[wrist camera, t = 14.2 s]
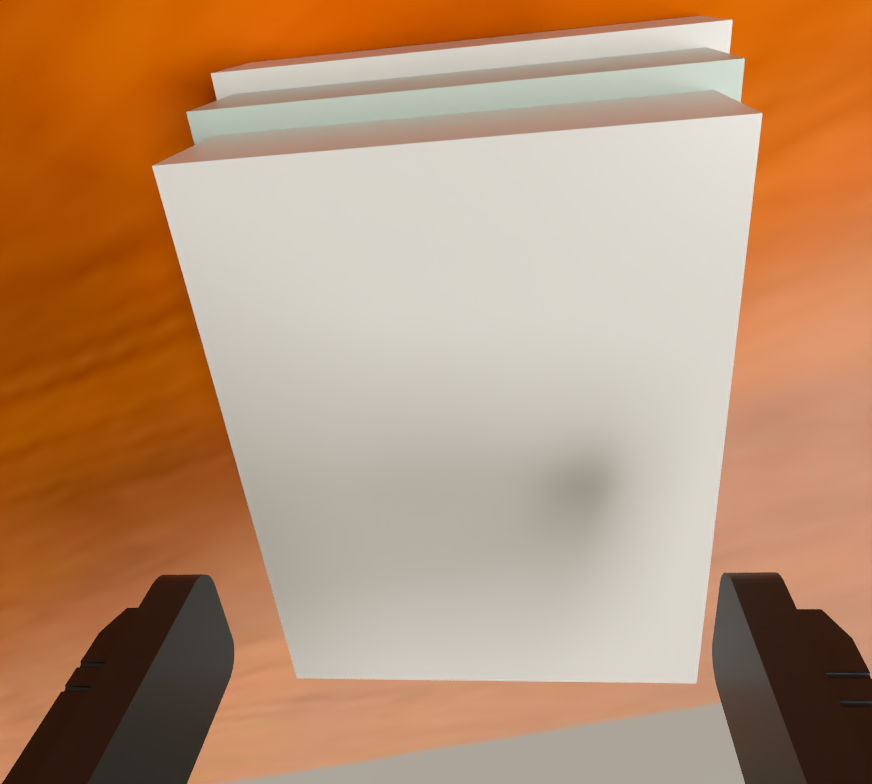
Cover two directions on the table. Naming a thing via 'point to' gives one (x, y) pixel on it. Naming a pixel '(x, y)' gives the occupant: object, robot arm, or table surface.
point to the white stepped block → (478, 341)
